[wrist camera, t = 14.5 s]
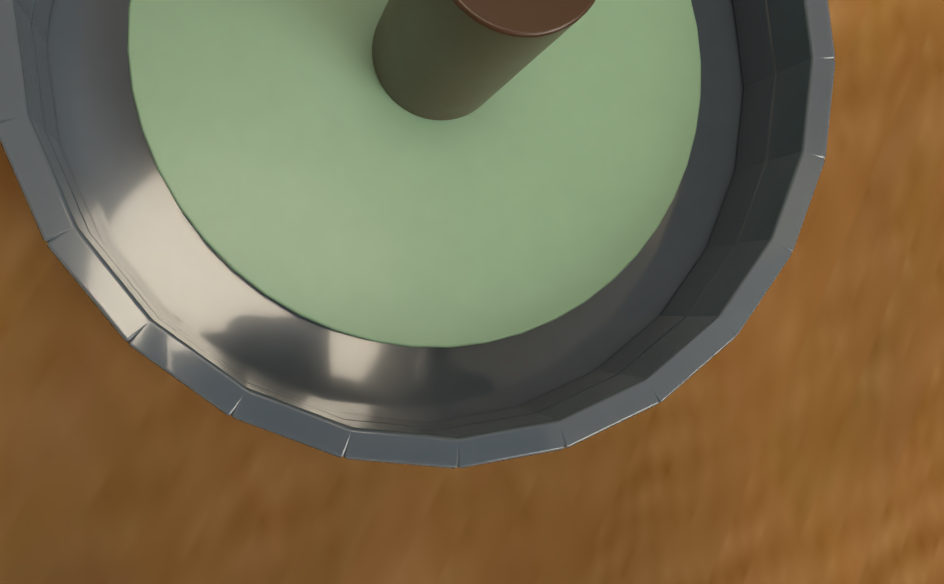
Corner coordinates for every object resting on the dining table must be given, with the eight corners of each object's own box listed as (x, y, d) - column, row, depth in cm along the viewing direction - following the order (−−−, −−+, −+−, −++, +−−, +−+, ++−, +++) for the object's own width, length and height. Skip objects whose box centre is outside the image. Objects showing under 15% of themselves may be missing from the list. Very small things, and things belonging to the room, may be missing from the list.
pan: (699, 467, 23) (791, 499, 19) (-25, 399, 19) (-94, 421, 15) (767, -169, 24) (869, -263, 20) (92, -364, 20) (56, -529, 16)
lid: (541, 439, 21) (690, 502, 14) (17, 173, 18) (-122, 87, 11) (758, -16, 22) (988, -163, 15) (307, -318, 20) (342, -656, 13)
